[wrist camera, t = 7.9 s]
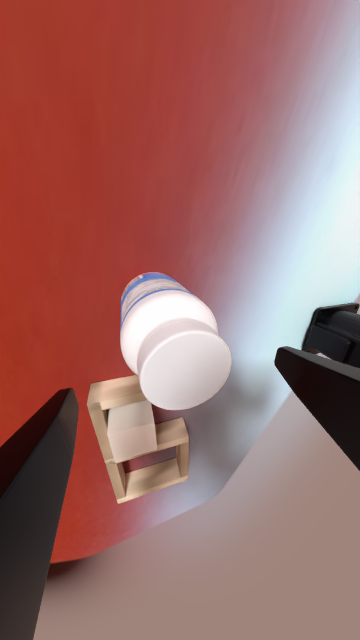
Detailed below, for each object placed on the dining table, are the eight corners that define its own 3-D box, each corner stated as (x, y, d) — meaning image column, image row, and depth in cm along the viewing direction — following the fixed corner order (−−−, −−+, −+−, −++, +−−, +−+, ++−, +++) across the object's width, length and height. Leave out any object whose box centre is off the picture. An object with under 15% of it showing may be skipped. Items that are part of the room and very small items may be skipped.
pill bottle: (183, 326, 18) (238, 409, 9) (125, 333, 17) (129, 438, 8) (183, 267, 16) (256, 309, 7) (116, 271, 14) (108, 327, 6)
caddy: (181, 365, 20) (189, 382, 18) (182, 459, 27) (188, 479, 25) (91, 383, 18) (86, 404, 16) (118, 480, 25) (118, 503, 23)
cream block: (148, 389, 20) (154, 422, 17) (151, 415, 22) (157, 449, 18) (109, 398, 19) (107, 434, 16) (115, 424, 21) (114, 462, 17)
